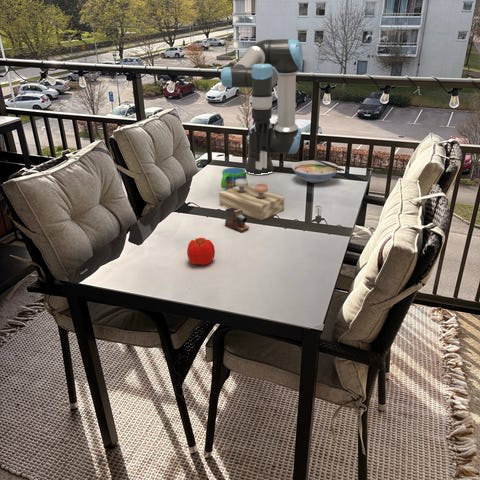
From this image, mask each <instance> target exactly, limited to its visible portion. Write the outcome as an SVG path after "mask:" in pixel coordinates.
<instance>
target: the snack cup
mask: <svg viewBox="0 0 480 480" xmlns="http://www.w3.org/2000/svg"><path fill="white" fill-rule="evenodd" d="M221 173H222V177H221V181H220V183H221V184H220V188H222V189H225V190H228V189H231V188H234V187H236V185H235V180H236V179H247V177H248V176H247V173H246V172H245V168H240V167H228V168H224V169H223V170H222V171H221ZM247 180H248V179H247Z"/></svg>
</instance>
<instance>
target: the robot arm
mask: <svg viewBox="0 0 480 480" xmlns="http://www.w3.org/2000/svg"><path fill="white" fill-rule="evenodd" d="M303 59H304V53H303V46H302V44H301V41H300V40H299V39H292V38H287V39H285V38H284V39H283V38H282V39H281V38H280V39H279V38H277V39H269V38H268V39H263V40H260V41H257V42H256V43H253V44H252V45H250V46H249V47H247V49H246V50H245V51H244V55H243V56H242V57H241V58H240V59H239V60H238V61H237V62H236V63H235V64H234V65H233V66H225V67H223V68H222V69H221V70H220V71H221V72H220V82H221V85H222V86H223V87H224V88H231V89H233V88H238V89H239V88H240V89H241V88H244V89H248V88H251V107H252V108H251V118H252V121H253V122H252V125H251V127H248V128H247V131H248V137H247V139H248V141H247V142H248V146H247V147H248V152H247V153H248V155H247V156H248V157H247V161H246V164H245V167H244V170H246V171H247V172H250V173H254V174H261V173H268V172H271V171H273V170H274V171H275V169H274V168H275V166H274V165H273V161H272V160H273V159H272V156H271V155H272V153H273V154H286V155H293V154H294V155H295V154H296V153H297V152H299V148H300V143H301V140H302V139H301V137H302V131H301V130H299V126H298V125H297V124H296V85H297V83H296V78H297V73H298V72H299V71H300V68H302V67H303V64H304V60H303ZM275 86H277V87H276V89H277V90H276V91H277V124H275V123H272V122H271V120H270V119H272V118H273V117H272V113H273V109H272V107H273V87H275Z"/></svg>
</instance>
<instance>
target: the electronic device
mask: <svg viewBox="0 0 480 480" xmlns="http://www.w3.org/2000/svg"><path fill="white" fill-rule="evenodd" d="M247 221H248V218H247V217H245V215H244V214H243V212H242V210H241V209H235V208H229V209H228V208H226V209H225V222H224V227H226V228H227V227H228V228H230V229H234V230H237V231H239V232H240V233H244V232H245V231H248V230H249V229H250V228H251V227H250V226H249V225H247V224H246V223H247Z"/></svg>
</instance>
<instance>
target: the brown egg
mask: <svg viewBox="0 0 480 480" xmlns="http://www.w3.org/2000/svg"><path fill="white" fill-rule="evenodd" d="M254 188H255V192H257V193H259V199H263V193H265V192H268V184H265V183H264V184H263V183H259V184H255V185H254Z"/></svg>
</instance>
